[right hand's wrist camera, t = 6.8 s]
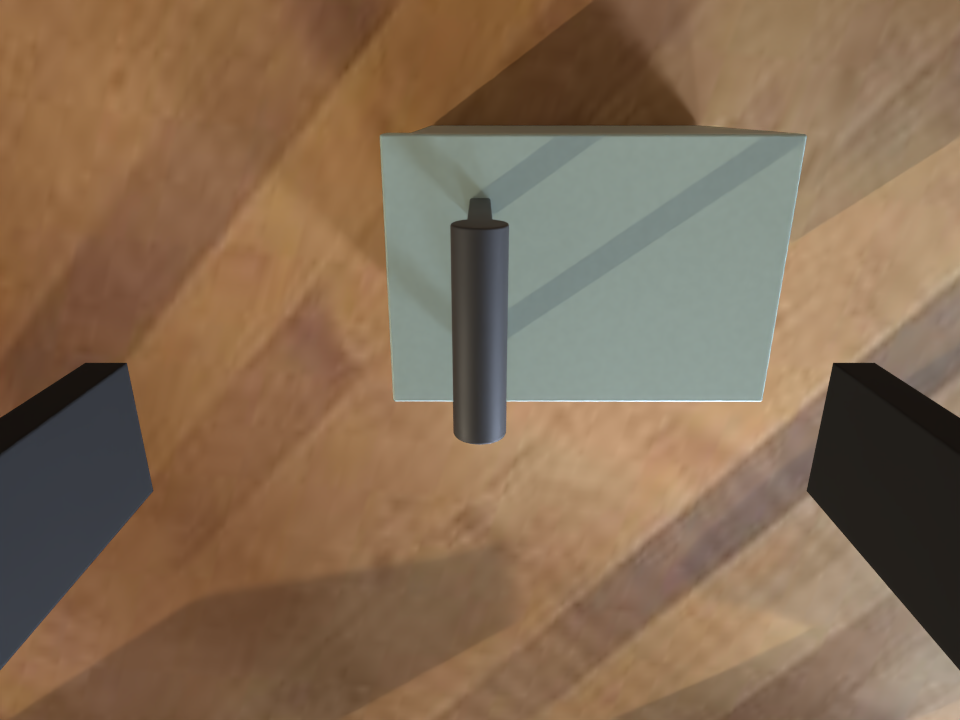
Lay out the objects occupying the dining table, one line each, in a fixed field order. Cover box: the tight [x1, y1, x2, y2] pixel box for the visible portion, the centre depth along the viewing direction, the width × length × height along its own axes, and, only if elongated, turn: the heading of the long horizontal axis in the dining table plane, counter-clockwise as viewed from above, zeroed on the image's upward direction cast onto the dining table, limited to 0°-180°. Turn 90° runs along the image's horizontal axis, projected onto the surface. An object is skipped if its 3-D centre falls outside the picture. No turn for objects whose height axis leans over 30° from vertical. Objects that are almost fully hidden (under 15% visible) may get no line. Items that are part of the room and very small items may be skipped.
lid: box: [380, 133, 807, 444], centre depth 20 cm, size 14×10×8 cm
